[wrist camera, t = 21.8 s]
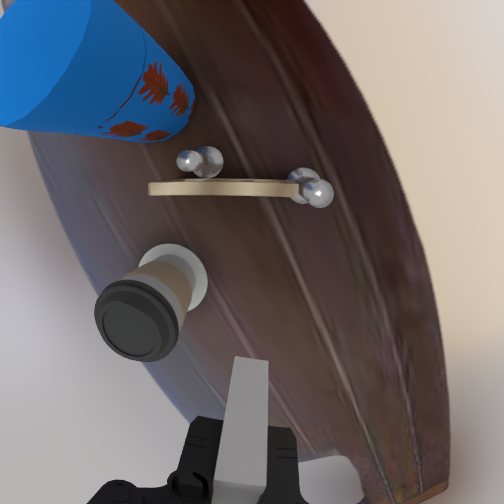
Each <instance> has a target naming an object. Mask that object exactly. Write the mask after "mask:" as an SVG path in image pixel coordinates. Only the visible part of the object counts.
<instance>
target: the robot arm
mask: <svg viewBox="0 0 504 504" xmlns="http://www.w3.org/2000/svg"><path fill="white" fill-rule="evenodd" d="M297 458H298V457H297V443H296V437H295V435H294V434H293V432H292V430H291V429H290V428H284V427H273V426H268V361H264V360H257V359H250V358H244V357H238V356H235V359H234V365H233V371H232V376H231V382H230V388H229V394H228V400H227V405H226V411H225V417H224V420H218V419H212V418H207V417H202V416H197V417H196V418H195V419H194V421H193V422H192V423H191V424H190V426H189V430H188V433H187V437H186V440H185V444H184V447H183V451H182V454H181V457H180V461H179V465H178V468H177V470H176V471H174V472H173V473H171V474H170V476H169V477H168V479H167V485H165V486H162V487H157V488H137V487H136V486H135V485H133V484H132V483H130V482H127V481H125V480H112V481H108V482H107V483H106V484H104V485H103V486H102V487H101V488H100V489H99V490H98V492H97V493H96V494H95V495H94V496H93V497H92V498H91V500H90V501H89V502H88V503H87V504H309V503H307V502H306V501H305V500H304V499H303V497H302V495H301V493H300V487H299V472H298V460H297Z"/></svg>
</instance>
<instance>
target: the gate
mask: <svg viewBox="0 0 504 504" xmlns="http://www.w3.org/2000/svg"><path fill="white" fill-rule="evenodd" d="M148 185H149V195H241V196H275V197H298V192H299V184H297V183H295V182H293V181H292V180H273V179H232V178H188V179H170V180H164V181H157V182H151V183H148Z"/></svg>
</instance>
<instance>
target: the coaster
mask: <svg viewBox="0 0 504 504" xmlns="http://www.w3.org/2000/svg"><path fill="white" fill-rule="evenodd" d="M166 254H171V255H176V256H179V257H181V258H183V259H184V260H185V261H187V262H188V263H189V265H190V266H191V267H192V269H193V271H194V273H195V277H196V285H195V289H194V291H193V294H192V299H191V303H190V306H189V308H188V311H190V310H192V309H193V308H195V307H196V306H198V305H199V303H200V302H201V301H202V300H203V298H204V296H205V294H206V291H207V286H208V278H207V273H206V270H205V267H204V265H203V263H202V262H201V260H200V259H199V258H198V257H197V255H196V254H194V253H193V252H192V251H191V250H189V249H188V248H186V247H184V246H181V245H178V244H171V243H167V244H161V245H158V246H155V247H153V248H152V249H150V250H149V251H148V252H147V253H146V254H145V255H144V256H143V258H142V259H141V261H140V264H139V267H140V266H142V265H144V264H146V263H148V262H151V261H152V260H154V259H156V258H157V257H159V256H161V255H166Z"/></svg>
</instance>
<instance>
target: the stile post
mask: <svg viewBox="0 0 504 504" xmlns="http://www.w3.org/2000/svg"><path fill="white" fill-rule="evenodd" d="M177 165H178V167H179V168H180V169H181V170H182V171H194V173H195V174H196V175H197V176H199V177H201V178H212V177H215V176H216V175H218V174H219V173H220V172H221V170H222V168H223V165H224V159H223V156H222V154H221V152H220V151H219V150H218V149H216V148H214V147H211V146H204V147H201V148H199V149H197V150H196V151H191V150H184V151H182V152H181V153H180V154H179V155H178V157H177Z"/></svg>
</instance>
